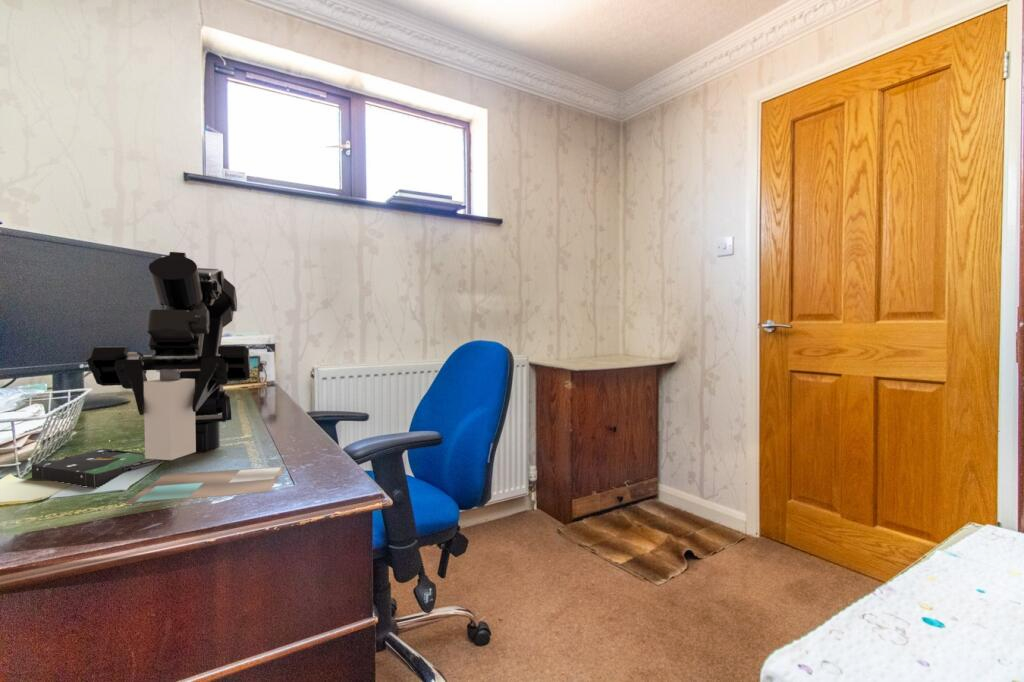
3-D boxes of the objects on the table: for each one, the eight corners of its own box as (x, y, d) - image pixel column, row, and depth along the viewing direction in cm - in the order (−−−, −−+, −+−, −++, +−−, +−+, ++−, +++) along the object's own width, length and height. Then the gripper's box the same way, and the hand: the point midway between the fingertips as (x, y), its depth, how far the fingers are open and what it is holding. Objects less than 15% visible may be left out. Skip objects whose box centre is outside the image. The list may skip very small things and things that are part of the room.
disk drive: (29, 482, 72) (95, 491, 68) (28, 464, 72) (95, 473, 68) (103, 463, 82) (165, 470, 78) (103, 447, 82) (165, 454, 78)
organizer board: (164, 482, 71) (164, 474, 71) (285, 473, 76) (285, 465, 75) (124, 513, 59) (123, 504, 59) (269, 500, 64) (269, 491, 64)
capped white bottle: (171, 450, 66) (169, 367, 65) (195, 451, 65) (194, 368, 65) (145, 458, 62) (143, 370, 61) (171, 460, 61) (169, 371, 61)
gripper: (90, 287, 62) (56, 377, 52) (248, 293, 70) (243, 371, 61) (110, 342, 69) (84, 430, 60) (251, 342, 78) (248, 418, 68)
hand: (168, 411), depth 62 cm, fingers closed on capped white bottle, 5 cm apart
